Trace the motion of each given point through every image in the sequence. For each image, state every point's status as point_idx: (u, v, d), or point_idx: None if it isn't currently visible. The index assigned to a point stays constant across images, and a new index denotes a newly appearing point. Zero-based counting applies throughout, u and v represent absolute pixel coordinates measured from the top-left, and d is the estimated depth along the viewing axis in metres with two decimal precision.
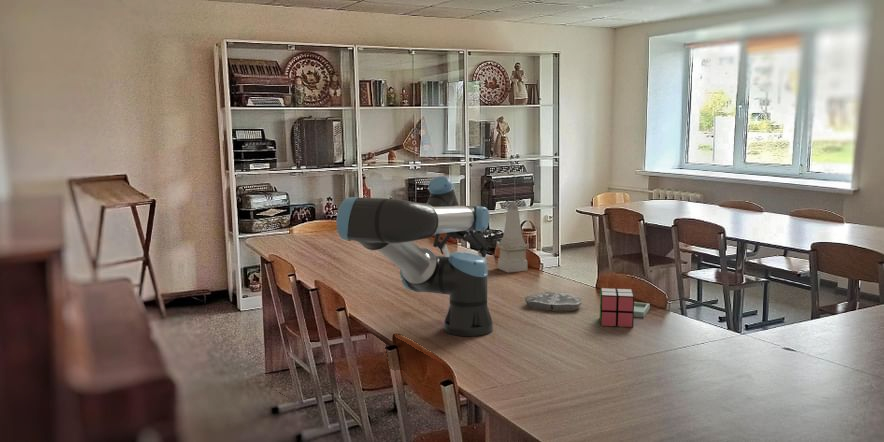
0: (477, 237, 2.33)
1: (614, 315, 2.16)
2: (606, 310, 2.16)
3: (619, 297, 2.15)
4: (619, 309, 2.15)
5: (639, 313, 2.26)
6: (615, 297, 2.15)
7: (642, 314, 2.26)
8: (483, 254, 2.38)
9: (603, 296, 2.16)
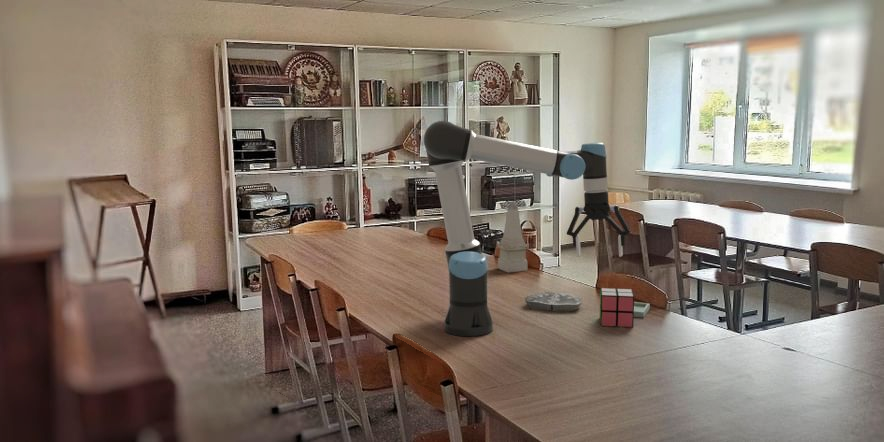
0: (621, 216, 2.20)
1: (614, 315, 2.16)
2: (606, 310, 2.16)
3: (619, 297, 2.15)
4: (619, 309, 2.15)
5: (639, 313, 2.26)
6: (615, 297, 2.15)
7: (642, 314, 2.26)
8: (623, 241, 2.21)
9: (603, 296, 2.16)
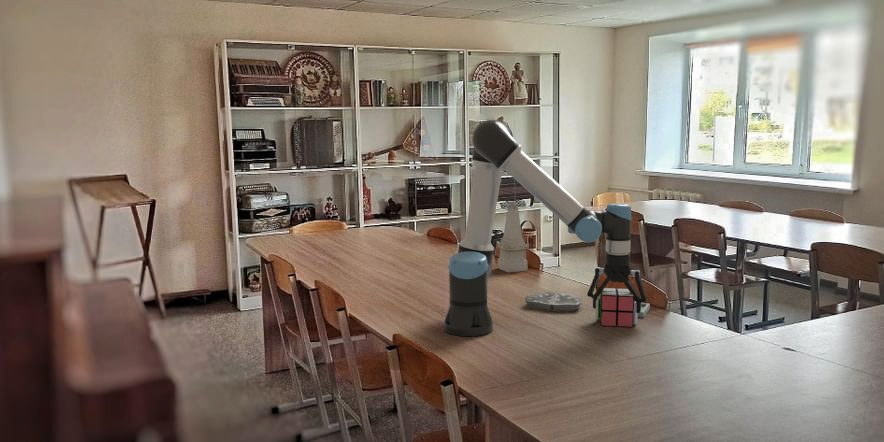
0: (640, 283, 2.15)
1: (614, 314, 2.16)
2: (606, 310, 2.16)
3: (619, 297, 2.15)
4: (619, 309, 2.15)
5: (639, 313, 2.26)
6: (615, 297, 2.15)
7: (642, 314, 2.26)
8: (638, 308, 2.17)
9: (603, 296, 2.16)
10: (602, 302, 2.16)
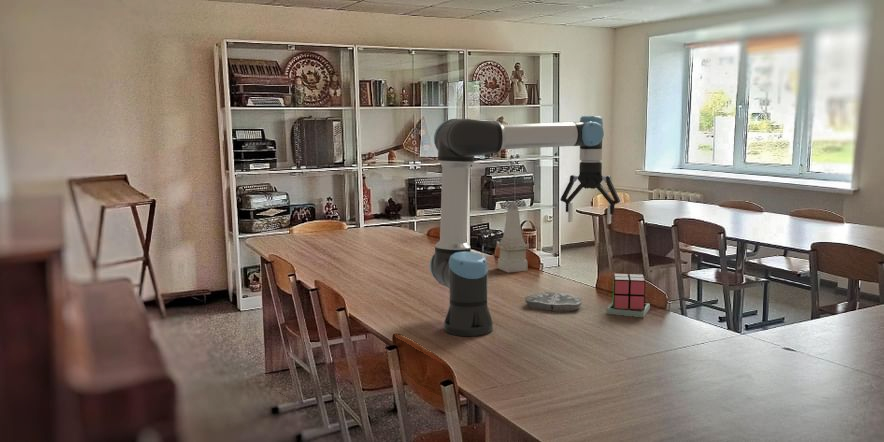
0: (612, 186, 2.35)
1: (626, 298, 2.29)
2: (619, 294, 2.29)
3: (631, 281, 2.28)
4: (631, 293, 2.28)
5: (639, 313, 2.26)
6: (627, 281, 2.28)
7: (642, 314, 2.26)
8: (612, 210, 2.36)
9: (616, 280, 2.29)
10: (615, 286, 2.29)
